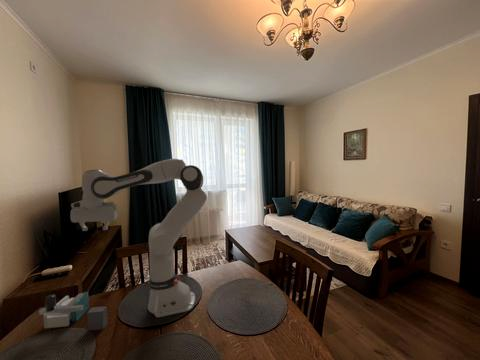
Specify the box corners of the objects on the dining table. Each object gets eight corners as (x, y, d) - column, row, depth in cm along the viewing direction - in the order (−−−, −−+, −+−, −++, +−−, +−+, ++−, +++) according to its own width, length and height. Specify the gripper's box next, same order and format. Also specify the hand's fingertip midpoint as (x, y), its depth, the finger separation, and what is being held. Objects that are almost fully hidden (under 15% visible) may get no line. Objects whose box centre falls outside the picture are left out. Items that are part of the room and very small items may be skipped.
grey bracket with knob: (101, 306, 102) (99, 277, 101) (81, 330, 87) (79, 296, 86) (65, 309, 100) (63, 280, 99) (38, 334, 85) (36, 299, 84)
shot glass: (71, 321, 92) (69, 306, 92) (56, 321, 93) (54, 306, 92) (84, 310, 99) (82, 296, 99) (70, 311, 100) (68, 297, 99)
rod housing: (107, 323, 91) (106, 306, 91) (103, 329, 88) (102, 311, 87) (92, 325, 90) (91, 307, 90) (88, 330, 87) (87, 312, 87)
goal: (87, 306, 103) (86, 294, 103) (67, 326, 90) (66, 312, 90) (66, 307, 102) (66, 295, 102) (44, 328, 89) (43, 314, 89)
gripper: (119, 201, 108) (120, 227, 108) (76, 202, 105) (77, 229, 106) (112, 202, 101) (114, 231, 102) (67, 204, 99) (69, 233, 100)
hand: (95, 230), depth 104 cm, fingers open, 8 cm apart
